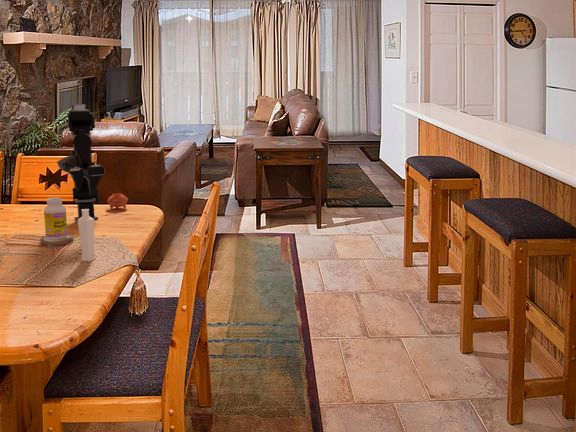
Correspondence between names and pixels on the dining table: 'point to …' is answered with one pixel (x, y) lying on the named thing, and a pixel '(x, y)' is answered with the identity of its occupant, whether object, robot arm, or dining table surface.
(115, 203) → the pot
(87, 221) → the perfume bottle
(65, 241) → the post base
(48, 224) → the supplement bottle
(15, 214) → the dining table surface
